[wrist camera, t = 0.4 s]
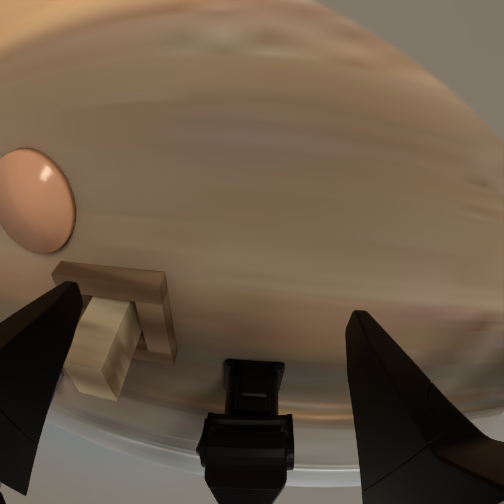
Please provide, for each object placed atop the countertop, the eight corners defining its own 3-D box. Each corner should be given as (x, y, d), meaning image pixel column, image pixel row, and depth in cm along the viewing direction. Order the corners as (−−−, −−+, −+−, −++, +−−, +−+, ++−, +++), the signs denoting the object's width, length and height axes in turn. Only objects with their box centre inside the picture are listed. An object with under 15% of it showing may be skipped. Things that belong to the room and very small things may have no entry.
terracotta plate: (86, 251, 26) (81, 257, 25) (12, 243, 26) (7, 249, 25) (65, 143, 20) (58, 147, 19) (-12, 153, 20) (-19, 157, 19)
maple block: (142, 328, 31) (117, 401, 24) (108, 323, 31) (79, 391, 24) (133, 293, 28) (101, 370, 21) (97, 288, 28) (59, 360, 21)
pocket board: (177, 350, 33) (173, 365, 31) (89, 336, 33) (83, 349, 31) (165, 272, 26) (159, 287, 25) (60, 261, 26) (51, 274, 25)
